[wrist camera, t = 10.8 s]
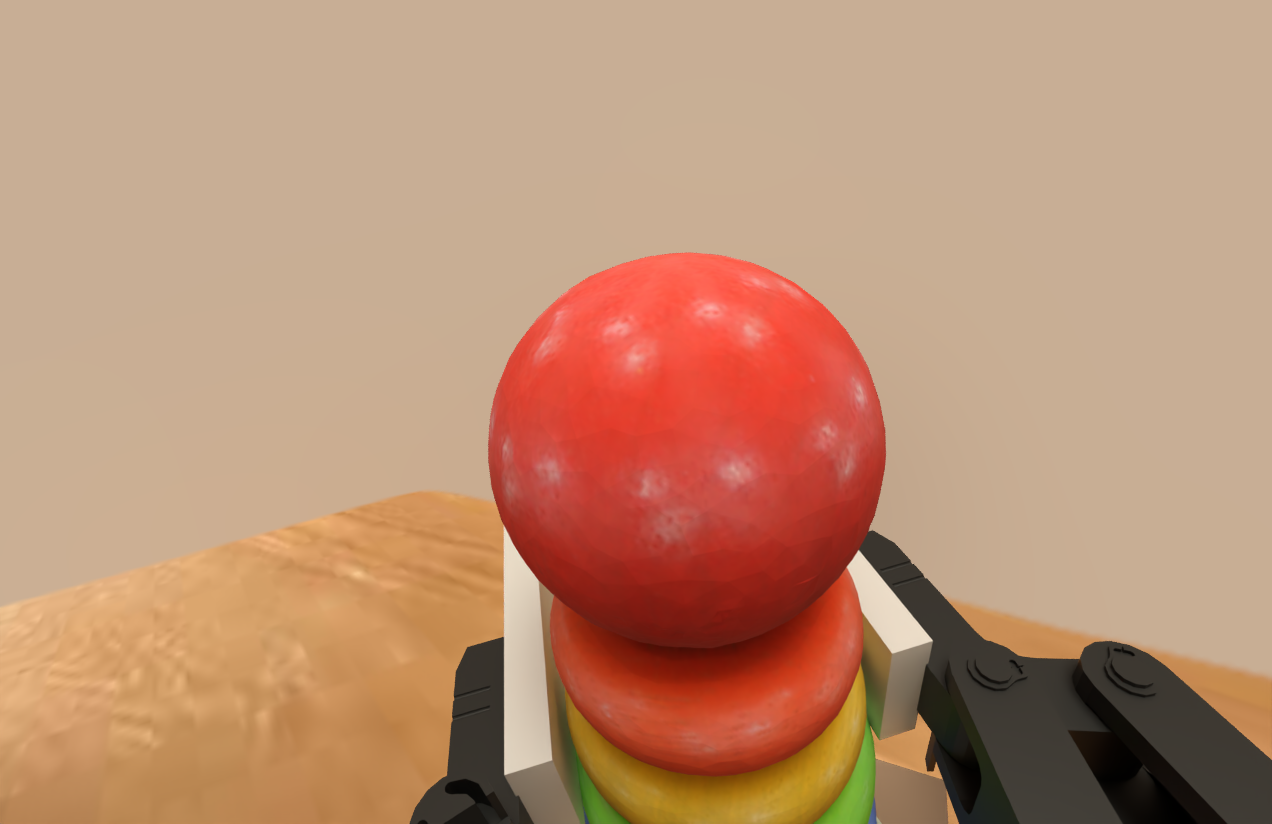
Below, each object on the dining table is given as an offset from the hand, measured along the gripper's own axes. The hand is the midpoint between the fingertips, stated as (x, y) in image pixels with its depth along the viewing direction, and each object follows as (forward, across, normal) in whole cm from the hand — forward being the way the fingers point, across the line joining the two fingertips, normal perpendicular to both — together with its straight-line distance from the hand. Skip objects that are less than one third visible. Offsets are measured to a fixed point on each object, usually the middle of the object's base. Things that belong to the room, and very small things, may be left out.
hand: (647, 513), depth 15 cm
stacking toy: (-5, 0, -11) cm, 12 cm away
